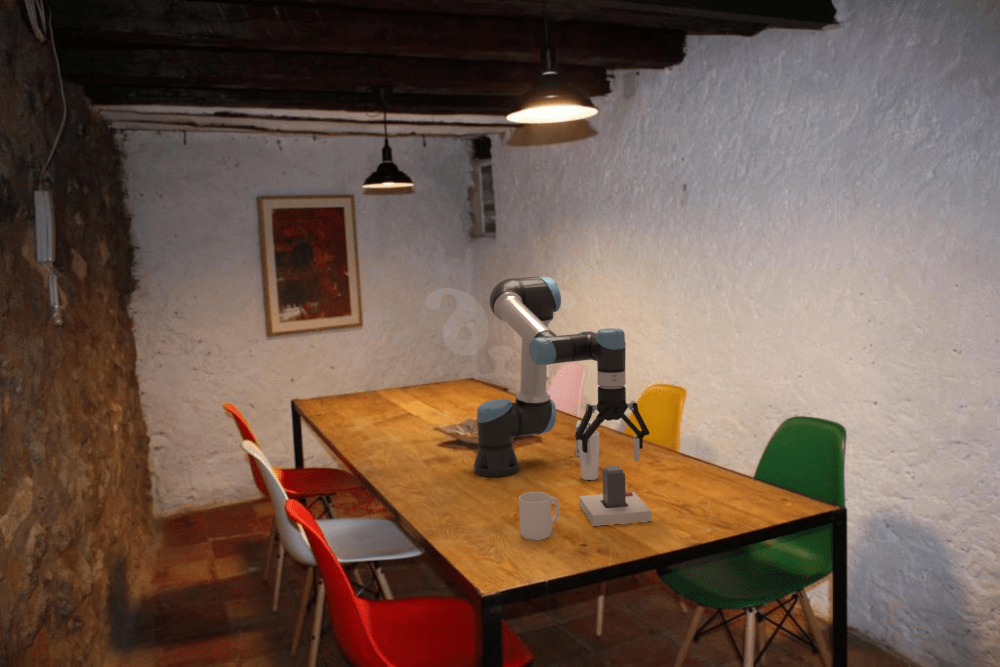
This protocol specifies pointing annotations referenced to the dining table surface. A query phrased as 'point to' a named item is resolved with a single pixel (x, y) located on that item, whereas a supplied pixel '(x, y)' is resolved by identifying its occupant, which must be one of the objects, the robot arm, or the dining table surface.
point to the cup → (537, 515)
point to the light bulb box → (576, 431)
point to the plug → (613, 487)
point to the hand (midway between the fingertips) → (612, 462)
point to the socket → (615, 510)
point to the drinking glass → (591, 470)
